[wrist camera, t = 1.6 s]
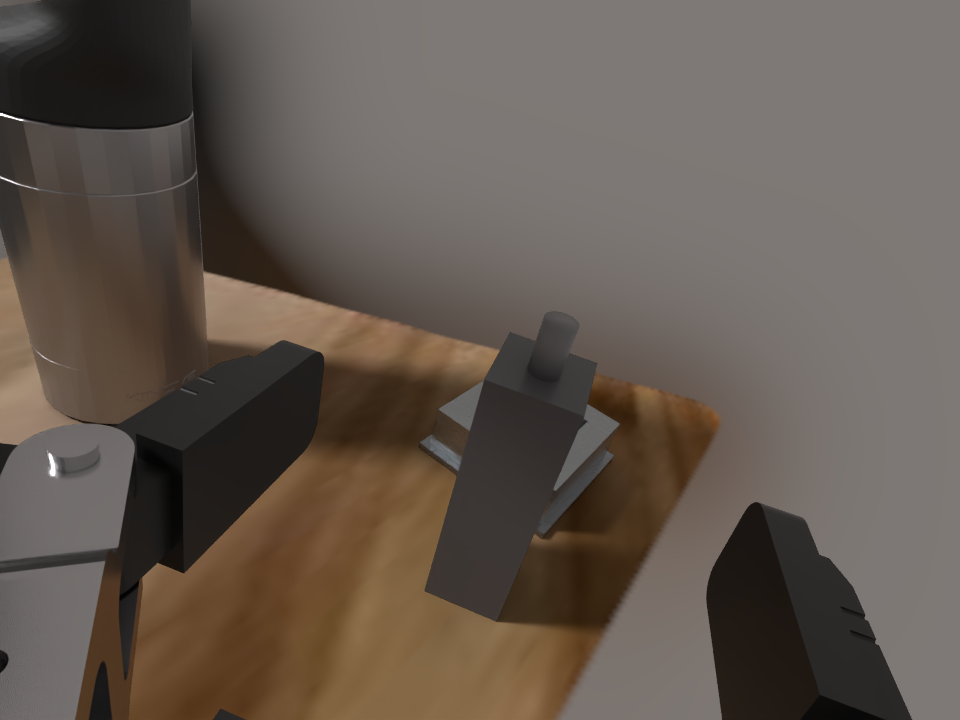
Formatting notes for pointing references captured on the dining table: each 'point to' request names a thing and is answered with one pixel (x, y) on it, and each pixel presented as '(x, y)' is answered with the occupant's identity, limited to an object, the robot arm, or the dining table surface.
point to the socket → (576, 472)
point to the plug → (511, 464)
